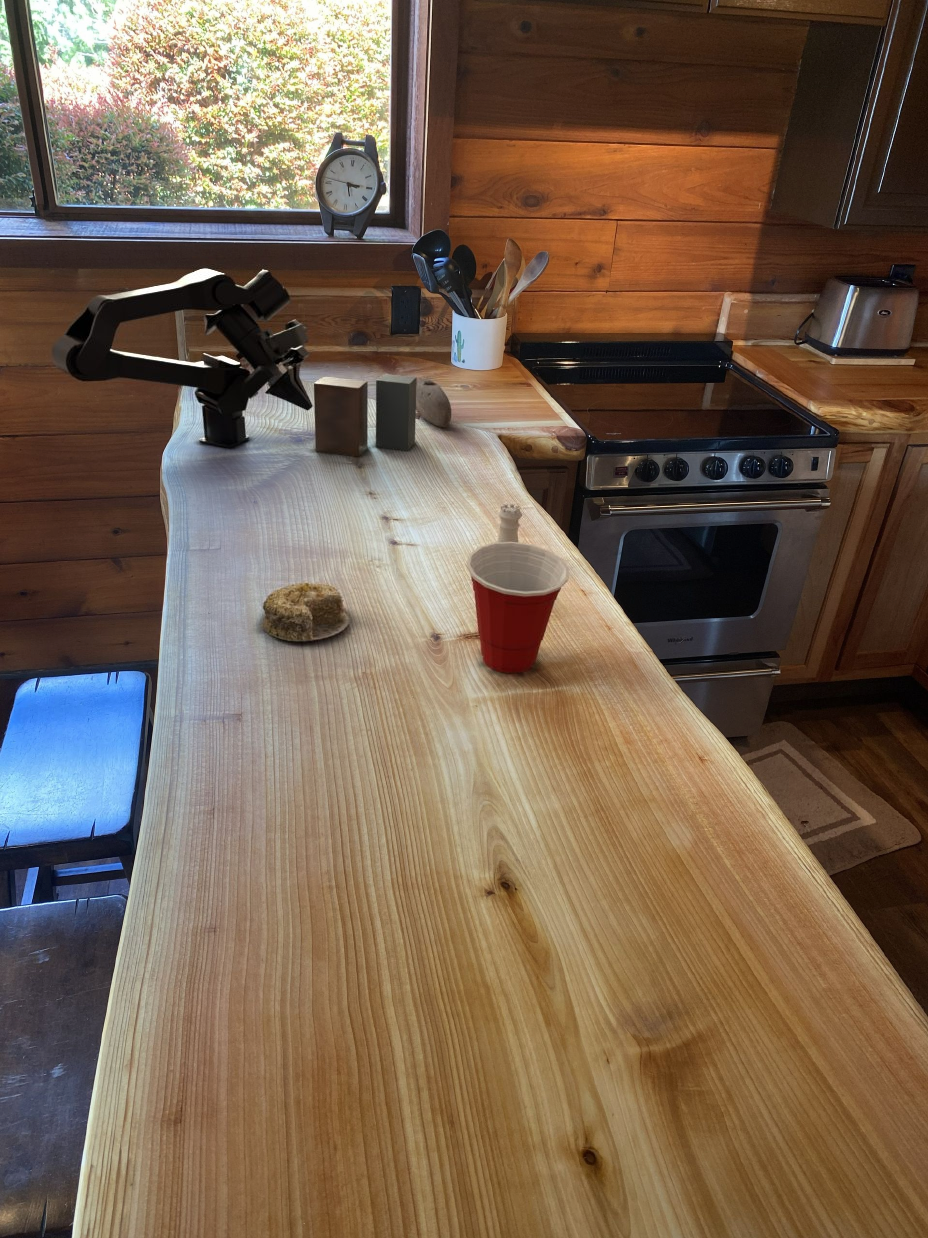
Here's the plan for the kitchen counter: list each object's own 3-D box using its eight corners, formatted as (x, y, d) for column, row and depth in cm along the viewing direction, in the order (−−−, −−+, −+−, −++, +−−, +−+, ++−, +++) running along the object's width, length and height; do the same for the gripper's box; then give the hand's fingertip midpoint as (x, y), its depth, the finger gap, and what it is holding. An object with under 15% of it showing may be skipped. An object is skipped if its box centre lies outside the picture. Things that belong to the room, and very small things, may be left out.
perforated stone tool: (458, 431, 172) (460, 395, 169) (432, 433, 171) (434, 397, 167) (433, 410, 185) (434, 376, 181) (409, 411, 183) (409, 377, 180)
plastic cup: (490, 697, 93) (498, 593, 87) (443, 647, 101) (448, 550, 95) (577, 675, 97) (591, 575, 92) (526, 629, 106) (535, 535, 100)
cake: (245, 637, 102) (239, 594, 99) (291, 602, 110) (286, 561, 108) (322, 651, 98) (318, 607, 96) (364, 613, 107) (361, 572, 104)
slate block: (375, 446, 162) (376, 379, 156) (383, 438, 166) (384, 373, 161) (407, 450, 161) (409, 383, 155) (415, 442, 165) (416, 376, 160)
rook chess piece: (527, 560, 123) (532, 505, 119) (515, 572, 119) (520, 516, 115) (497, 552, 124) (501, 498, 121) (484, 564, 121) (488, 509, 117)
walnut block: (315, 451, 158) (313, 382, 152) (325, 443, 162) (323, 376, 157) (359, 456, 157) (358, 387, 151) (367, 448, 161) (367, 380, 155)
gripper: (256, 314, 142) (324, 391, 146) (297, 297, 159) (357, 367, 162) (213, 360, 147) (279, 433, 151) (256, 339, 163) (316, 406, 167)
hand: (310, 408), depth 158 cm, fingers closed
